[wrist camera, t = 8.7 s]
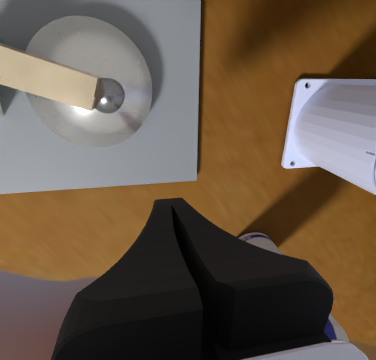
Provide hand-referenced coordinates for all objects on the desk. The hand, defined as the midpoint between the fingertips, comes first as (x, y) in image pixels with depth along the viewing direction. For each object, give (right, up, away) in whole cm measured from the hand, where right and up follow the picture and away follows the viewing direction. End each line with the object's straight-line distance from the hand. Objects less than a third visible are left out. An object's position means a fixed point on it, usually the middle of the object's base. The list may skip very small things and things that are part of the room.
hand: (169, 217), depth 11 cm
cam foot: (-7, +9, +5) cm, 12 cm away
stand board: (-6, +8, +7) cm, 12 cm away
